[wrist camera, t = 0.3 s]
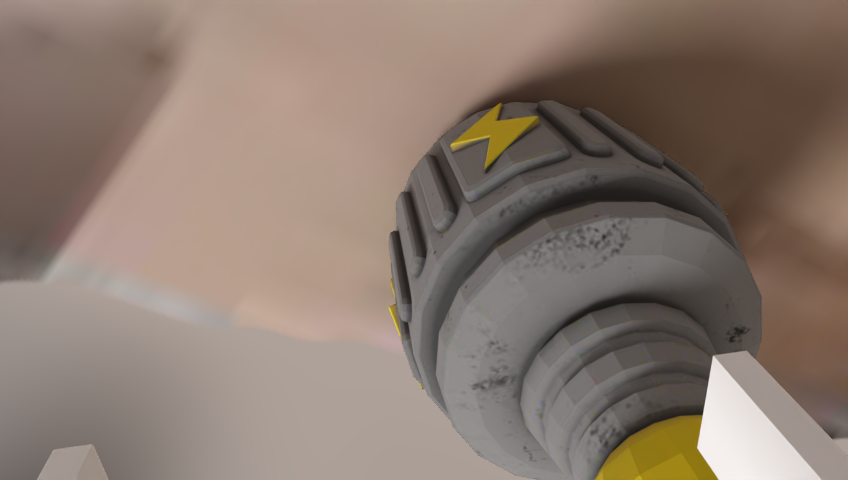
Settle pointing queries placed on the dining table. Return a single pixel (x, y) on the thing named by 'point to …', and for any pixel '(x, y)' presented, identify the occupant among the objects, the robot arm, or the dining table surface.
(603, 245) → the decorative lamp
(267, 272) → the dining table surface
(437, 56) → the dining table surface
